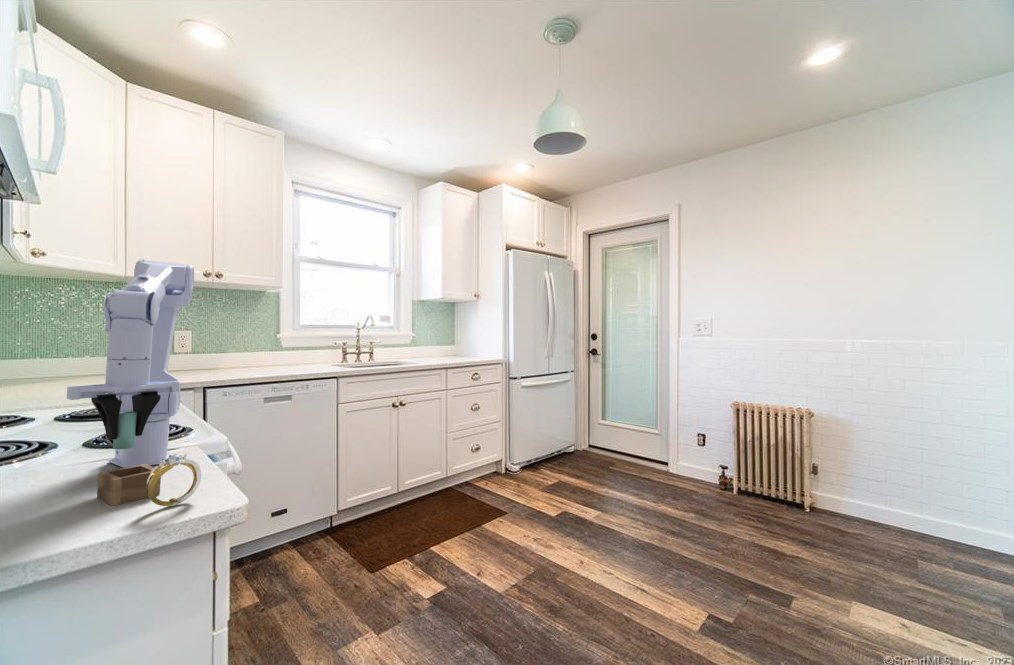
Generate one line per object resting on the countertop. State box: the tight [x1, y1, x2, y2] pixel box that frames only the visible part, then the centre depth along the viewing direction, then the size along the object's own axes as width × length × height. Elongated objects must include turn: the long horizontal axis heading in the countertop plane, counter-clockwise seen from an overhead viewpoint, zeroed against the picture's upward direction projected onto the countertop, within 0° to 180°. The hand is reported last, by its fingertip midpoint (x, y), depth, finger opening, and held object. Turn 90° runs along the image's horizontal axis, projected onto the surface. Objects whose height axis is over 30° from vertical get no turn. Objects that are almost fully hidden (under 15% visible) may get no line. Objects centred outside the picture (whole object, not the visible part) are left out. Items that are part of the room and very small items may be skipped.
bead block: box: [96, 464, 162, 507], centre depth 68 cm, size 6×6×4 cm
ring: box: [146, 453, 202, 507], centre depth 65 cm, size 7×3×8 cm, turn 147°
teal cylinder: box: [112, 411, 137, 450], centre depth 72 cm, size 3×3×6 cm
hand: (124, 436), depth 72 cm, fingers closed on teal cylinder, 3 cm apart
